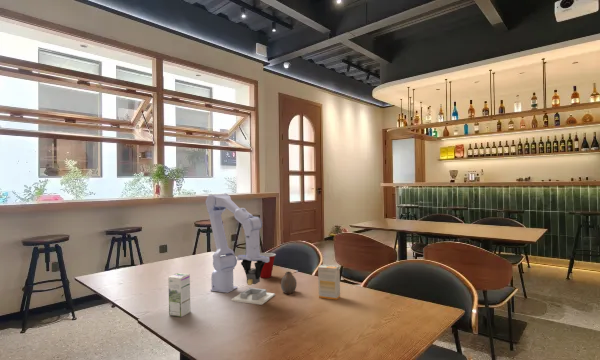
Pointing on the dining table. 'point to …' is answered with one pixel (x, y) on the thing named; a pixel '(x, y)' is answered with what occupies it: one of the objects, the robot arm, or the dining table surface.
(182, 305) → the syrup box
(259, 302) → the hub panel
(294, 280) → the vase
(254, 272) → the knob
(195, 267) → the dining table surface
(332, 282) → the supplement box
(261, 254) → the plastic cup
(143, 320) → the dining table surface
